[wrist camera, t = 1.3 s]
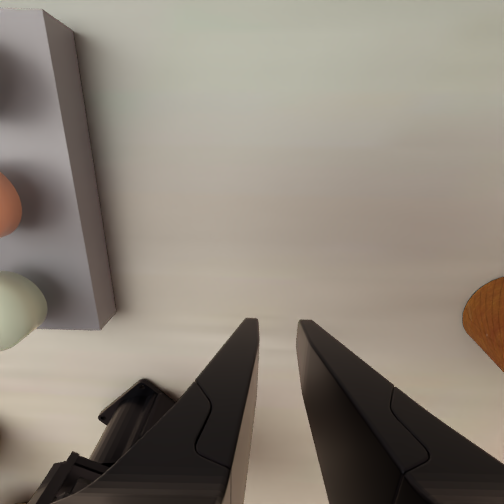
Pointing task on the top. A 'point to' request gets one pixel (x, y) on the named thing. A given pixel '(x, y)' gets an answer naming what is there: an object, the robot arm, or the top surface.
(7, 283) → the sage button
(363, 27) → the top surface
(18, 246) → the button panel
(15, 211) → the terracotta button
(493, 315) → the disposable coffee cup
